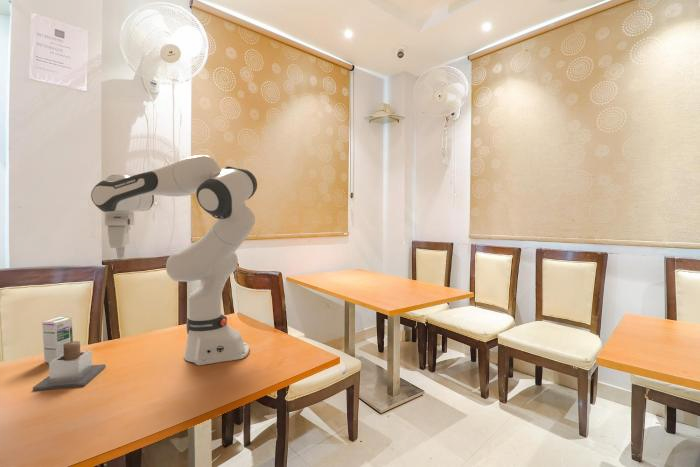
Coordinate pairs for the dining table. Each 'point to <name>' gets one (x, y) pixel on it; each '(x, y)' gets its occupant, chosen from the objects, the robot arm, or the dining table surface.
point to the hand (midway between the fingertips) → (120, 258)
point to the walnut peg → (71, 350)
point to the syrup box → (56, 336)
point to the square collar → (70, 372)
